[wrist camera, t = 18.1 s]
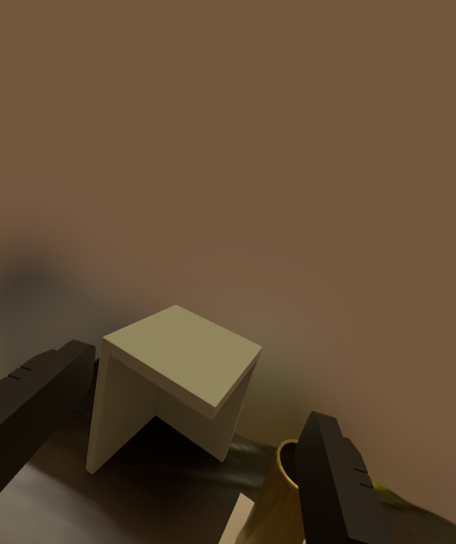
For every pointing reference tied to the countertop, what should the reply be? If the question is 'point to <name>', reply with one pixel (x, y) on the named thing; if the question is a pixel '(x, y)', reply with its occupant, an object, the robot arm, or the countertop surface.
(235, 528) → the tile
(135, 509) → the countertop surface
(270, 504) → the vase
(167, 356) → the shelf nook
